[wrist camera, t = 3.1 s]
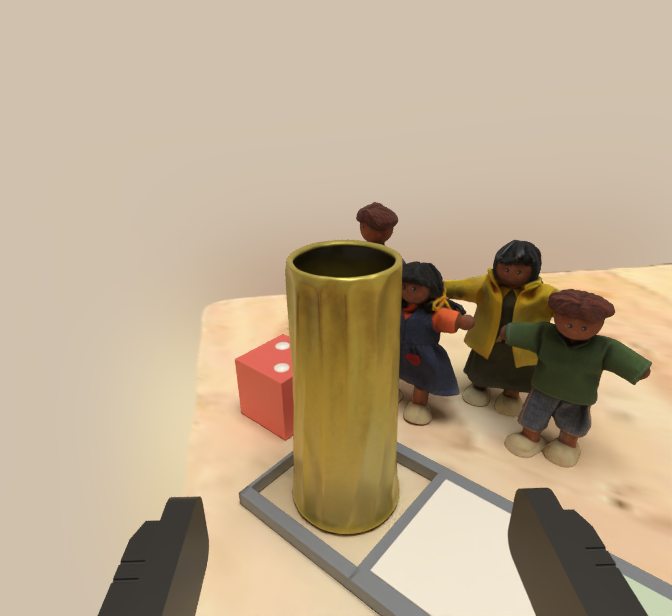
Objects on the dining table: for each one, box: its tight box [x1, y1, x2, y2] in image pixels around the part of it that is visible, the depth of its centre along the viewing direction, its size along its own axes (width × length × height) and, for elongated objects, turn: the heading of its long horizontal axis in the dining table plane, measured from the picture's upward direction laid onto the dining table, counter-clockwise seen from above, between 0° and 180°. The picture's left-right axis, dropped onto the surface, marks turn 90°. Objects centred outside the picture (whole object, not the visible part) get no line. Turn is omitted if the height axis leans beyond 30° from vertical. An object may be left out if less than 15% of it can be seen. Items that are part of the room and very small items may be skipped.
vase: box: [285, 240, 403, 534], centre depth 24 cm, size 6×6×14 cm
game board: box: [239, 442, 672, 616], centre depth 22 cm, size 9×24×1 cm, turn 50°
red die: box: [235, 334, 294, 440], centre depth 33 cm, size 4×4×5 cm
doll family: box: [356, 202, 652, 467], centre depth 33 cm, size 23×9×13 cm, turn 66°
